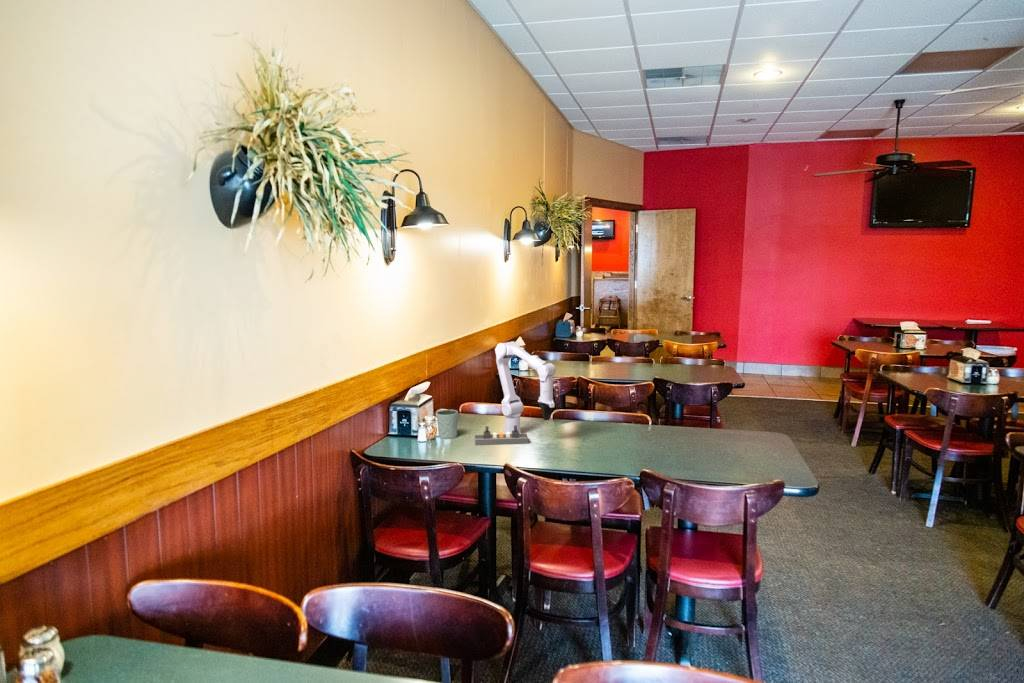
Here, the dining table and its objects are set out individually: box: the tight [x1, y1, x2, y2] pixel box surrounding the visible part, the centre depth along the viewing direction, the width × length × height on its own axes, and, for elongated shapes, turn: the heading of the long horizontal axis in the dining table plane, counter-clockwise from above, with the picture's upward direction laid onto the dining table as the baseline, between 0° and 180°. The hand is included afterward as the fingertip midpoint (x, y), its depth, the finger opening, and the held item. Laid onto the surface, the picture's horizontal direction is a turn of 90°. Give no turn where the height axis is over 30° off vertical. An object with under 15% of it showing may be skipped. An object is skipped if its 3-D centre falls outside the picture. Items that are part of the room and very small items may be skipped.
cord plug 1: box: [483, 425, 492, 438], centre depth 280 cm, size 3×3×5 cm
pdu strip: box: [474, 433, 529, 446], centre depth 281 cm, size 7×24×3 cm, turn 95°
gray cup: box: [435, 409, 459, 440], centre depth 290 cm, size 10×10×12 cm
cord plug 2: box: [512, 425, 519, 437], centre depth 281 cm, size 3×3×5 cm
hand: (546, 419), depth 280 cm, fingers closed
